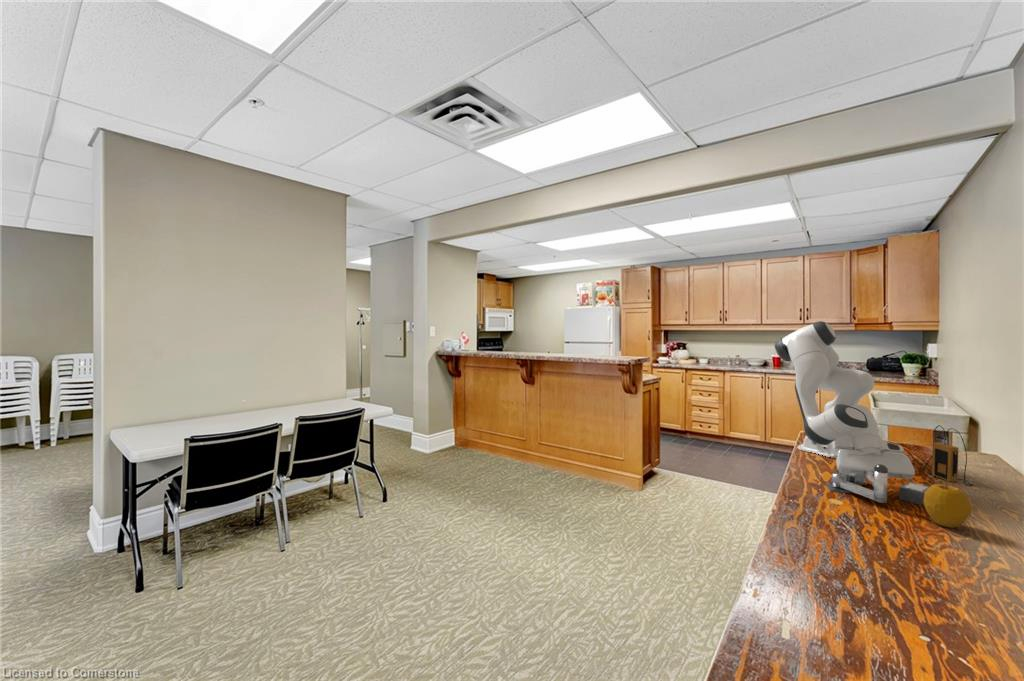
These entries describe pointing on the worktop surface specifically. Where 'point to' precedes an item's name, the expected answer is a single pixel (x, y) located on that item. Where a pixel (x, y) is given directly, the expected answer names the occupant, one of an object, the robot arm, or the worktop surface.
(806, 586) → the worktop surface
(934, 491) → the apple
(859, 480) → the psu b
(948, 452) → the multimeter
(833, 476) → the grey crank handle
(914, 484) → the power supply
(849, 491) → the arm mount
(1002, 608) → the worktop surface
